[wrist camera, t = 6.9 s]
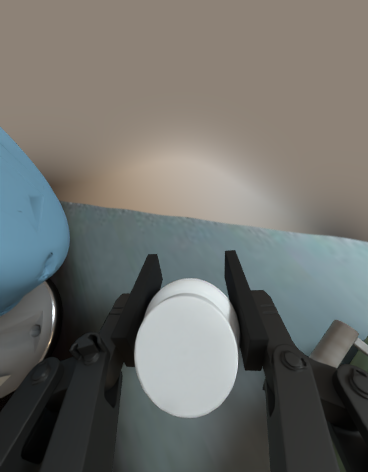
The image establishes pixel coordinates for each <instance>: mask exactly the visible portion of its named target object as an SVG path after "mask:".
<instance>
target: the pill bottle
mask: <svg viewBox="0 0 368 472" xmlns="http://www.w3.org/2000/svg"><path fill="white" fill-rule="evenodd" d="M239 347H240V327H239V322H238V318H237V314H236V312H235V310H234V308H233V306H232V304H231V302H230V301H229V299H228V298H227V297H226V296H225V295H224V294H223V293H222V292H221V291H220V290H219V289H218V288H217V287H215V286H214V285H212V284H210V283H209V282H207V281H204V280H201V279H195V278H185V279H180V280H176V281H174V282H171V283H169V284H168V285H166V286H164V287H163V288H162V289H161V290H160V291H159V292H158V293H157V294H156V295H155V296H154V297H153V299H152V300H151V302H150V303H149V305H148V308H147V310H146V313H145V316H144V320H143V322H142V324H141V326H140V328H139V331H138V334H137V337H136V341H135V348H134V361H135V368H136V372H137V376H138V379H139V381H140V384H141V386H142V388H143V390H144V392H145V393H146V394H147V395H148V397H149V398H150V400H151V401H152V402H153V403H154V404H155V405H156V406H158V407H159V408H160V409H162V410H163V411H165V412H167V413H169V414H171V415H174V416H177V417H182V418H195V417H200V416H203V415H206V414H208V413H210V412H211V411H213V410H214V409H216V408H217V407H219V406H220V405H221V403H223V401H224V400H225V399H226V397H227V396H228V394H229V393H230V391H231V389H232V387H233V385H234V382H235V378H236V374H237V368H238V352H239Z"/></svg>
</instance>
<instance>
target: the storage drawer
mask: <svg viewBox="0 0 368 472" xmlns="http://www.w3.org/2000/svg"><path fill="white" fill-rule="evenodd" d="M358 335H359V334H358V332H357V331H356V330H354V329H353V328H352V327H350V326H349V325H347V324H345V323H343V322H341V321H339V320H334V321H333V323H332V324H331V326H330V327H329V328H328V330H327V331H326V333H325V334H324V336H323V337H322V339H321V340H320V342H319V343H318V345H317V346H316V347H315V349H314V350H313V352H312V353H311V355H310V356H309V358H311V359H313V360H315V361H318V362H321V363H324V364H327V365H330V366H333V367H336V368H337V367H338V366H339V364H340V363H341V361H342V360H343V358H344V357H345V355H346V354H347V352H348V351H349V349H350V347H351V346H352V345H354V346H355V347H356V348H357V349H359V350H358V352H357V353H356V355H355V356H354V358H353V360H352V361H351V363H350V365H354V366H357V367H359V368H361V369H363V370H365V371H366V372H367V373H368V336H367V338H366V339H365V341H364V342H363V341H362V340H360V339H359V338H358ZM330 437H331V436H330ZM331 440H332V439H331ZM332 444H333V448H334V451H335V455H336V458H337V462H338V466H339V469H340V472H346V470H345V468H344V466H343V463H342V461H341V459H340V457H339V454H338V452H337V450H336V448H335V445H334V443H333V441H332Z"/></svg>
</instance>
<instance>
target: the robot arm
mask: <svg viewBox="0 0 368 472" xmlns="http://www.w3.org/2000/svg"><path fill="white" fill-rule="evenodd" d="M69 243H70V234H69V227H68V222H67V219H66V216H65V213H64V211H63V208H62V206H61V204H60V202H59V200H58V199H57V197H56V195H55V194H54V192H53V190H52V188H51V187H50V185H49V184H48V182H47V181H46V179H45V178H44V177H43V175H42V174H41V173H40V172H39V170H38V169H37V167H36V166H35V165H34V164H33V162H32V161H31V160H30V159H29V158H28V156H27V155H26V154H25V153H24V152H23V151H22V149H21V148H20V147H19V146H18V145H17V144H16V143H15V142H14V141H13V140H12V138H11V137H10V136H9V135H8V134H7V133H6V132H5V131H4V130H3V129H2V128H1V127H0V398H3V397H5V396H6V395H8V394H10V393H12V392H14V391H15V390H16V391H15V392H14V394H13V395H12V396H11V398H10V399H9V401H8V402H7V403H6V405H5V406H4V407H3V409H2V410H1V412H0V472H112V469H113V460H114V451H115V441H116V432H117V423H118V414H119V404H120V395H121V386H122V371H121V369H122V366H123V363H125V364H126V366H127V367H135V361H134V348H135V341H136V337H137V334H138V331H139V328H140V326H141V324H142V322H143V320H144V316H145V313H146V310H147V308H148V305H149V303H150V302H151V300H152V299H153V297H154V296H155V295H156V294H157V293H158V292H159V291H160V288H161V284H162V280H163V278H162V274H161V269H160V265H159V260H158V256H157V254H149V255H148V256H147V258H146V260H145V263H144V265H143V267H142V269H141V271H140V274H139V276H138V278H137V280H136V282H135V285H134V287H133V289H132V291H131V293H130V294H122V295H121V296H120V297H119V298H118V299H117V300H116V302H115V303H114V305H113V307H112V309H111V311H110V313H109V315H108V317H107V319H106V320H105V322H104V324H103V326H102V328H101V330H100V332H99V333H96V332H88V333H86V334H84V335H82V336H81V337H79V338H78V339H77V340H76V341H75V342H74V343H73V344H72V346H71V348H70V350H69V352H70V353H71V354H72V355H73V356H74V357H71V358H68V359H65V360H62V361H59V360H58V359H57V358H55V357H50V356H51V354H52V352H53V350H54V348H55V346H56V343H57V340H58V337H59V334H60V330H61V324H62V303H61V298H60V295H59V292H58V290H57V288H56V286H55V285H54V283H53V282H52V281H51V280H50V279H49V278H50V277H51V276H52V275H53V274H54V273H55V272H56V271H57V270H58V269H59V268H60V266H61V265H62V263H63V262H64V260H65V258H66V256H67V253H68V250H69ZM225 281H226V286H227V290H228V295H229V300H230V302H231V304H232V306H233V308H234V310H235V312H236V314H237V318H238V322H239V327H240V349H241V354H242V358H243V363H244V368H245V370H251V371H261V369H262V366H263V370H264V373H265V376H266V377H265V381H264V384H263V390H265V393H266V409H267V424H268V440H269V456H270V471H271V472H340V469H339V466H338V462H337V458H336V455H335V451H334V448H333V444H332V441H333V443H334V445H335V448H336V450H337V452H338V454H339V457H340V459H341V461H342V463H343V466H344V468H345V470H346V472H368V373H367V372H366V371H365V370H363V369H361V368H359V367H357V366H354V365H350V364H343V365H340V366H339V367H338V368H336V367H333V366H330V365H327V364H324V363H321V362H318V361H315V360H313V359H311V358H309V357H308V356H306V355H304V354H303V353H302V352H301V351H300V350H299V349H298V348H297V347H296V346H295V344H294V343H293V341H292V339H291V337H290V335H289V333H288V331H287V329H286V327H285V325H284V323H283V321H282V319H281V317H280V315H279V314H278V311H277V309H276V307H275V306H274V303H273V301H272V299H271V297H270V296H269V295H268V294H267V293H266V292H265V291H264V290H250V288H249V285H248V283H247V280H246V277H245V275H244V272H243V270H242V267H241V264H240V262H239V259H238V257H237V254H236V251H235V250H231V251H225ZM330 436H331V437H330ZM331 439H332V440H331Z"/></svg>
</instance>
